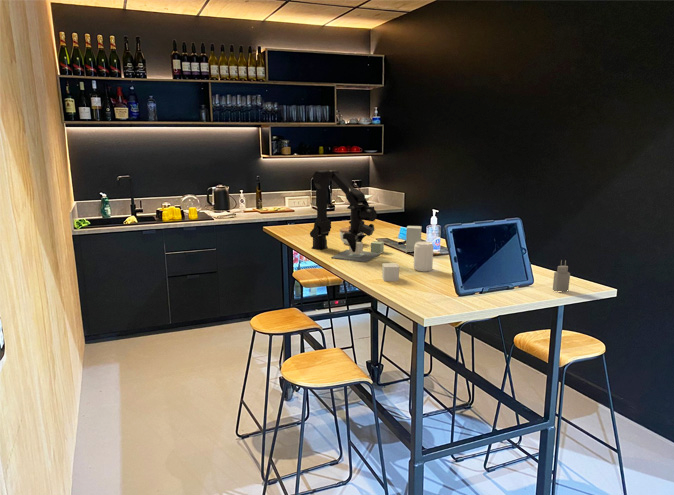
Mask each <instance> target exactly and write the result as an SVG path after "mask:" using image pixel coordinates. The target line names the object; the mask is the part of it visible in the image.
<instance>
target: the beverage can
mask: <svg viewBox="0 0 674 495" xmlns="http://www.w3.org/2000/svg"><path fill="white" fill-rule="evenodd" d="M433 262H434V244H433V242H431V241H425V240H421V241H419V242H416V244H415V246H414V253H413V269H414V270H416V271H417V272H425V273H426V272H429V271H432V270H433Z"/></svg>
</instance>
